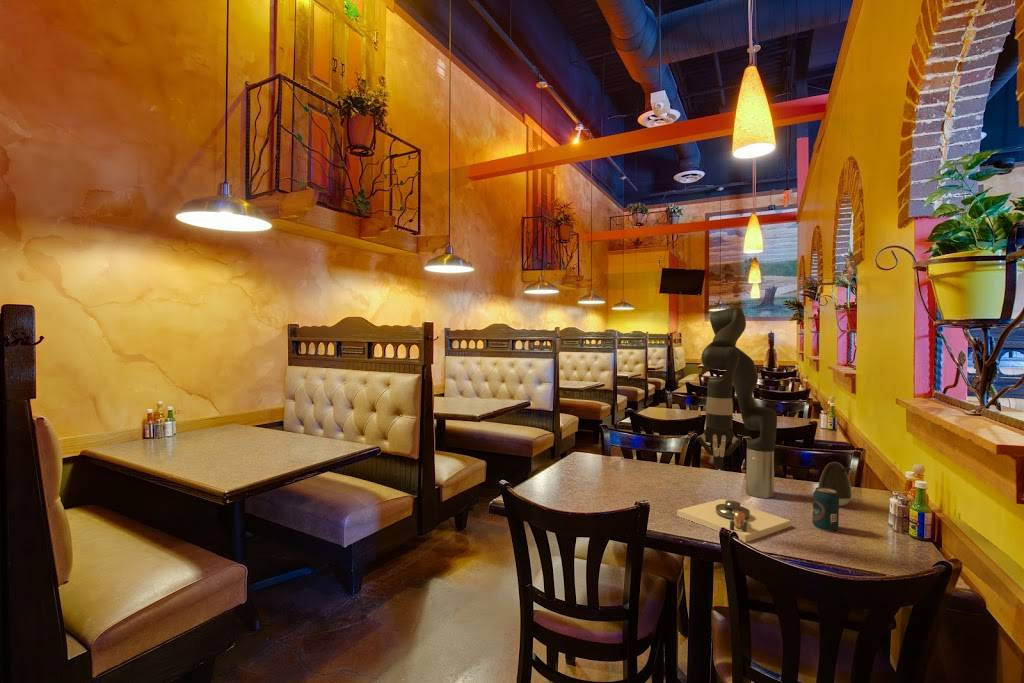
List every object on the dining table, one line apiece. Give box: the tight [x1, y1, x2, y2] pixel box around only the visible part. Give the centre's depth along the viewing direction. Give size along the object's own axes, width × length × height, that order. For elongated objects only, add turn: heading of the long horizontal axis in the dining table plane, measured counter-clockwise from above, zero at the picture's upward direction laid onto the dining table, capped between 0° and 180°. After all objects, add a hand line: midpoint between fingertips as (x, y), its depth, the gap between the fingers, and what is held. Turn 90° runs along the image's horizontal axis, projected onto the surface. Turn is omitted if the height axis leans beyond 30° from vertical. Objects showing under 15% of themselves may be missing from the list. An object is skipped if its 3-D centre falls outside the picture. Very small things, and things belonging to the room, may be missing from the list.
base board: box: [676, 498, 791, 543], centre depth 158 cm, size 24×24×4 cm
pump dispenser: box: [817, 461, 853, 507], centre depth 178 cm, size 10×10×15 cm
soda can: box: [811, 486, 840, 532], centre depth 154 cm, size 7×7×12 cm
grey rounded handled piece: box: [716, 500, 750, 528], centre depth 155 cm, size 18×10×4 cm, turn 166°
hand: (718, 468), depth 151 cm, fingers closed
